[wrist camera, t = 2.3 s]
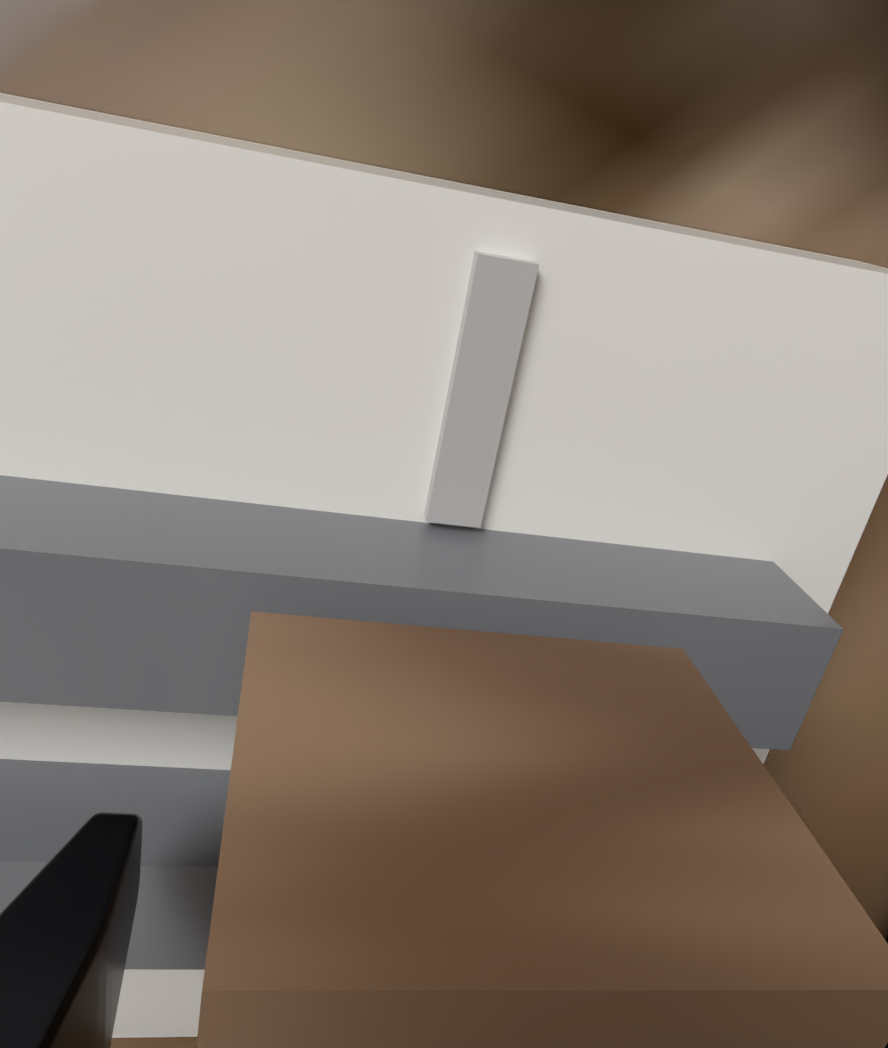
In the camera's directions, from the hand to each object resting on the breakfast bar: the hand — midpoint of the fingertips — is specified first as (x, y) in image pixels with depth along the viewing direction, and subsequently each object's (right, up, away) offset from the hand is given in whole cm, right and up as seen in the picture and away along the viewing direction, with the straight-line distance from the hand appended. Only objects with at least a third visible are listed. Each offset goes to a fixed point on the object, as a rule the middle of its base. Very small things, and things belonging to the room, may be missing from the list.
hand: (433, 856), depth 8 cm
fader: (0, +1, +2) cm, 2 cm away
